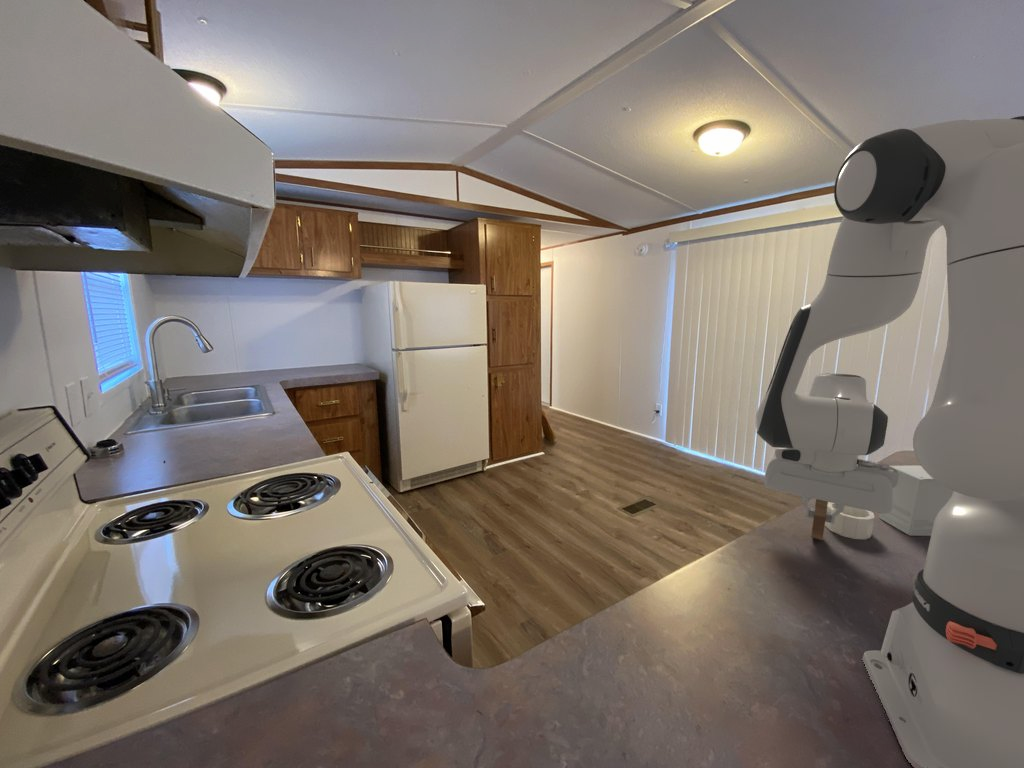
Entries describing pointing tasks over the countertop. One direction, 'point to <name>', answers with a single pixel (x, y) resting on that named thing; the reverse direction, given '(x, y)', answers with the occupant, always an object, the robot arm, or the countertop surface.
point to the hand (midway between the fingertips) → (819, 519)
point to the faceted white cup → (852, 522)
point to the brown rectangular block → (819, 519)
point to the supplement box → (916, 501)
